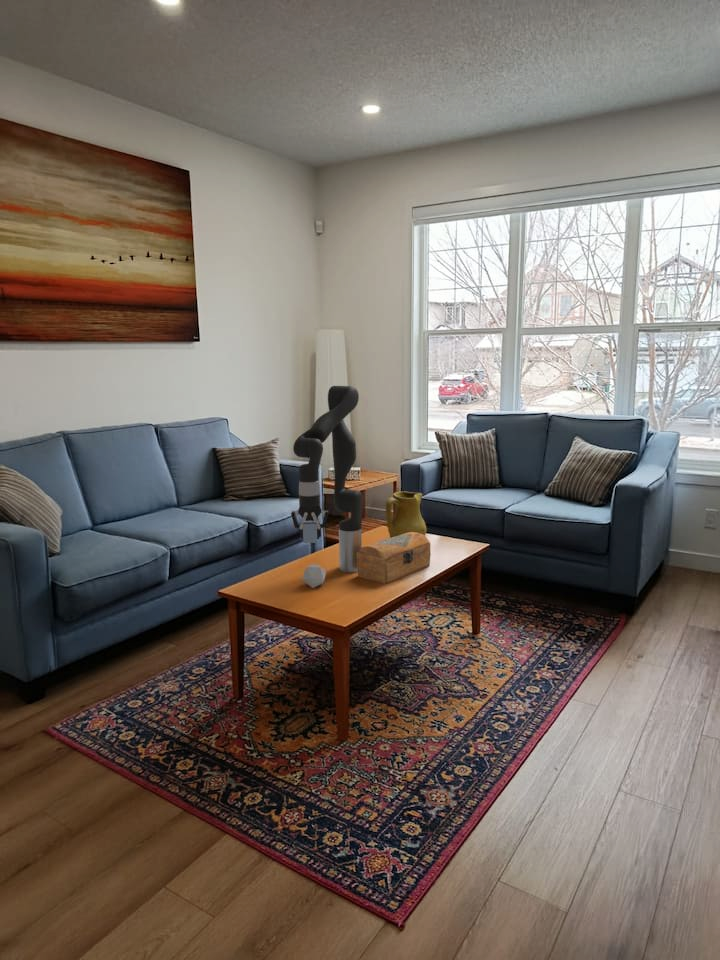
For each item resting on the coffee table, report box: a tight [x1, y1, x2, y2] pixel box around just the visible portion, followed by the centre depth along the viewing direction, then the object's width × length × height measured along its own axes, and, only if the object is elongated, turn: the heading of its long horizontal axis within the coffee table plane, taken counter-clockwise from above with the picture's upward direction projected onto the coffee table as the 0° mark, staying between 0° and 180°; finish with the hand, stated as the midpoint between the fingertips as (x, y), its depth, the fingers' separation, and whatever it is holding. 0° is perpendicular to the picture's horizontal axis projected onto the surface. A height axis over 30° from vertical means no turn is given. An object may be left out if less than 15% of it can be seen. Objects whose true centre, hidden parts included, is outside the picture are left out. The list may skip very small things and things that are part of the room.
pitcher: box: [385, 490, 427, 538], centre depth 308 cm, size 17×19×25 cm
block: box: [302, 520, 319, 544], centre depth 246 cm, size 5×5×7 cm
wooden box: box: [357, 532, 431, 585], centre depth 273 cm, size 30×16×14 cm, turn 138°
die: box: [301, 562, 327, 589], centre depth 257 cm, size 8×9×10 cm
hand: (310, 538), depth 246 cm, fingers closed on block, 5 cm apart
